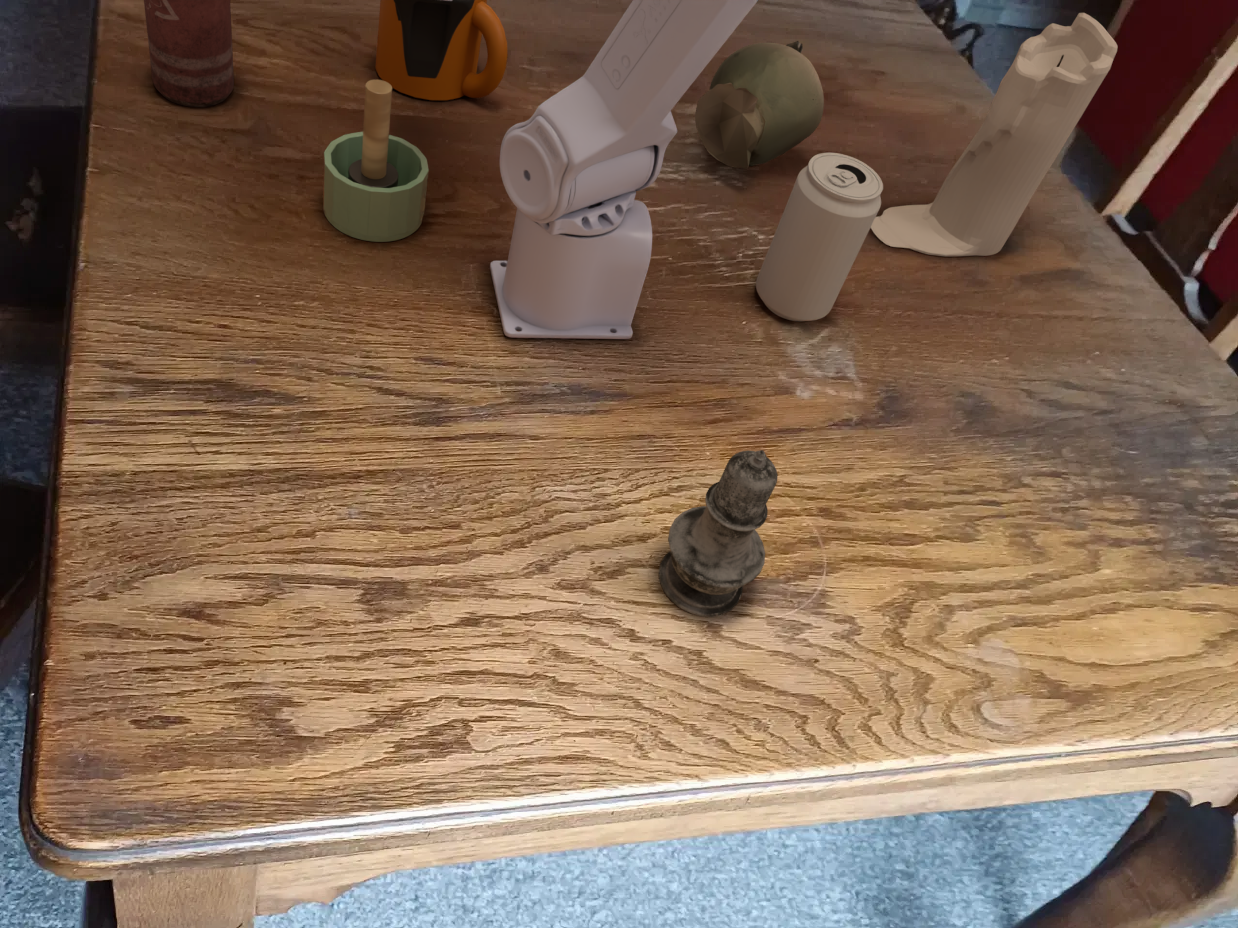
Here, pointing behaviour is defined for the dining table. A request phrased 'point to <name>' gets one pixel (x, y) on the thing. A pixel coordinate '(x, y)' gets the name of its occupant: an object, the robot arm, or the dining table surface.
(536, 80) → the dining table surface
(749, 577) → the chess piece
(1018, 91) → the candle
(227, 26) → the can
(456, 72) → the mug
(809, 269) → the beverage can
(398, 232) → the pot
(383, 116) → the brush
